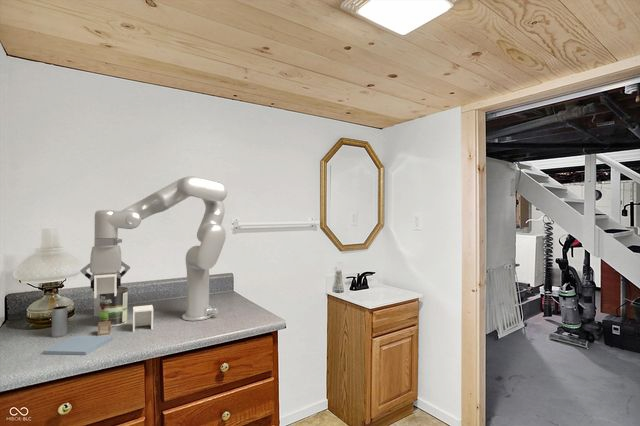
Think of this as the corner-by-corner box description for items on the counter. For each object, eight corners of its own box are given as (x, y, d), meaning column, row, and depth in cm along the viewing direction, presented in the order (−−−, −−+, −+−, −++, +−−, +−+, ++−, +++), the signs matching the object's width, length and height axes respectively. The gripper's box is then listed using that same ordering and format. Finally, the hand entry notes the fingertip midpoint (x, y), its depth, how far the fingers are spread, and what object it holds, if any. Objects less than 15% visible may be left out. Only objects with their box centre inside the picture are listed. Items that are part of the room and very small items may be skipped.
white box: (95, 294, 132) (95, 273, 132) (116, 292, 136) (117, 272, 136) (94, 298, 126) (94, 276, 126) (116, 296, 130) (116, 274, 130)
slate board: (112, 339, 125) (112, 336, 125) (85, 354, 111) (85, 351, 111) (74, 338, 125) (74, 335, 125) (42, 353, 111) (42, 350, 111)
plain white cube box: (132, 326, 139) (133, 306, 139) (152, 324, 142) (152, 304, 142) (132, 331, 133) (133, 311, 133) (152, 329, 136) (153, 308, 136)
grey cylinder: (54, 338, 125) (55, 309, 125) (49, 335, 127) (49, 307, 127) (69, 334, 129) (69, 307, 129) (63, 332, 131) (64, 305, 131)
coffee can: (111, 328, 136) (111, 292, 136) (92, 325, 140) (93, 290, 140) (133, 321, 146) (134, 287, 146) (115, 318, 149) (116, 285, 150)
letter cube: (98, 332, 132) (98, 322, 132) (110, 331, 134) (110, 320, 134) (97, 336, 128) (97, 325, 128) (110, 334, 130) (110, 323, 130)
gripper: (132, 241, 139) (131, 285, 139) (79, 242, 130) (79, 289, 130) (132, 242, 132) (131, 289, 132) (77, 244, 124) (76, 293, 124)
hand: (105, 289), depth 131 cm, fingers closed on white box, 7 cm apart
